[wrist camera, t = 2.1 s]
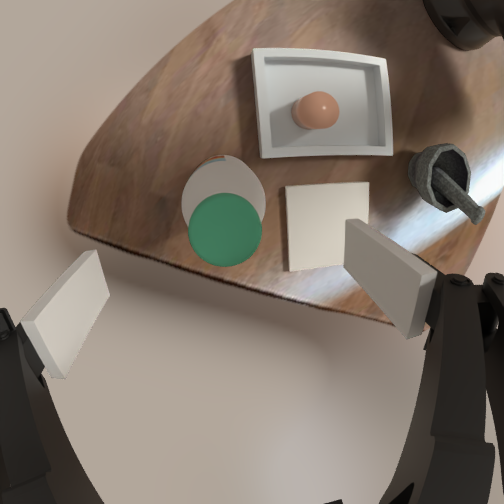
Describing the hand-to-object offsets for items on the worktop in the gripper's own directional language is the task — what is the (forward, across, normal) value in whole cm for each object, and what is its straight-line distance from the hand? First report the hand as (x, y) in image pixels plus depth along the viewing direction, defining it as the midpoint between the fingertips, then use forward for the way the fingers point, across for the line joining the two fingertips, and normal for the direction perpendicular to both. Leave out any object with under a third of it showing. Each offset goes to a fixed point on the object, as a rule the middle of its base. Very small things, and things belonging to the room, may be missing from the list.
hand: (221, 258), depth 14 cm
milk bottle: (+24, 0, 0) cm, 24 cm away
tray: (+23, +14, +10) cm, 29 cm away
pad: (+23, +14, -7) cm, 28 cm away
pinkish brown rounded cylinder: (+23, +12, +9) cm, 27 cm away
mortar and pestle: (+23, +32, 0) cm, 39 cm away
